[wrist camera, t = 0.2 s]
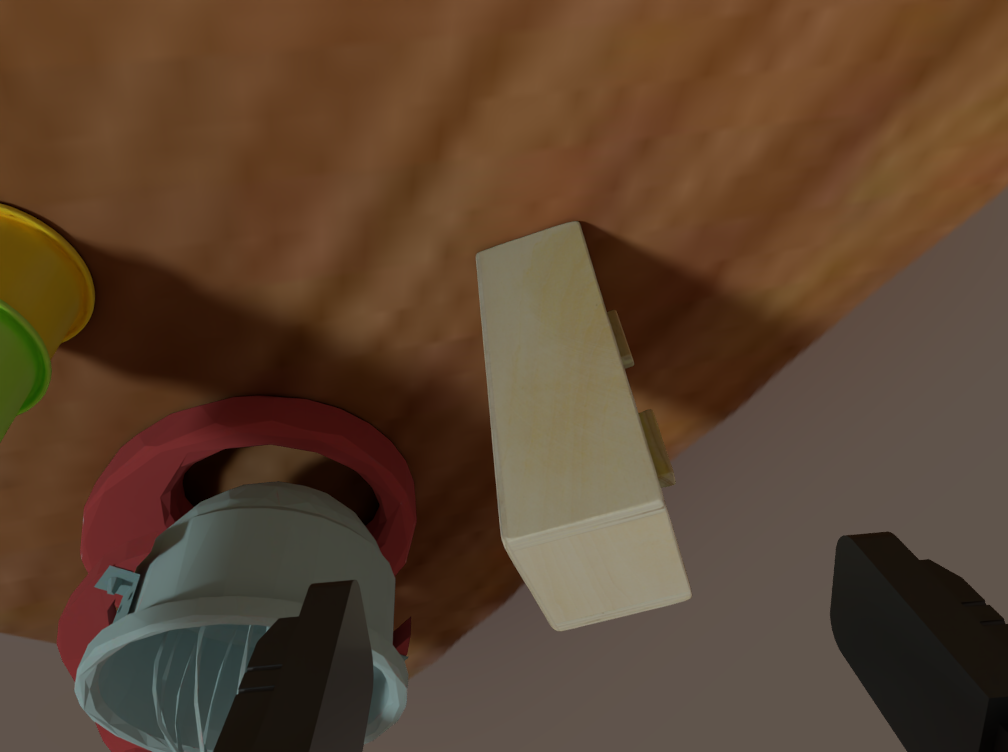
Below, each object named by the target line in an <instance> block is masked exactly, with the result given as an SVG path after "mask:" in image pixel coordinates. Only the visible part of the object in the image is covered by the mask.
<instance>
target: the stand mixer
mask: <svg viewBox="0 0 1008 752" xmlns="http://www.w3.org/2000/svg"><path fill="white" fill-rule="evenodd" d="M270 444H271V445H277V446H283V447H289V448H294V449H300V450H306V451H311V452H317V453H319V454H321V455H323V456H326V457H328V458H330V459H332V460H334V461H337V462H339V463H341V464H343V465H345V466H347V467H350V468H351V469H353V470H354V471H356V472H357V473H358V474H360V476H361V477H362V478H363V479H364V480H365V481H366V482H367V483H368V484H369V485H370V486H371V487H372V489H373V491H374V493H375V495H376V497H377V500H378V502H379V504H380V506H379V508H378V510H377V512H376V514H375V517H374V519H373V520H372V521H371V522H370V523H368V524H367V525H366V526H365V525H364V524H363V523H362V521H361V520H360V519H359V517H358V516H357V515H356V513H355V512H353V511H352V510H351V509H349V508H348V507H346V506H345V505H343V504H342V503H340V502H339V501H337V500H336V499H335V498H333V497H332V496H330V495H329V494H327V493H325V492H322V491H319V490H316V489H313V488H310V487H307V486H303V485H297V484H291V483H285V482H279V481H278V482H267V483H257V484H247V485H242V486H239V487H236V488H234V489H231V490H228V491H226V492H223V493H221V494H218V495H216V496H214V497H211V498H209V499H206V500H204V501H202V502H200V503H199V504H198V505H196V506H195V507H193V505H192V504H191V503H190V502H189V501H188V500H187V499H186V497H185V493H184V488H183V478H184V474H185V473H186V471H187V470H188V469H189V468H190V467H191V466H192V465H193V464H194V463H196V462H198V461H200V460H202V459H204V458H206V457H209V456H211V455H213V454H215V453H217V452H219V451H221V450H223V449H229V448H239V447H250V446H260V445H270ZM416 522H417V515H416V500H415V486H414V480H413V478H412V475H411V473H410V470H409V467H408V465H407V462H406V460H405V459H404V458H403V456H402V455H401V454H400V452H399V451H398V450H397V448H396V447H395V446H394V444H393V443H392V442H391V441H390V440H389V439H388V438H387V437H385V436H384V435H383V434H382V433H380V432H379V431H378V430H377V429H376V428H374V427H373V426H372V425H371V424H369V423H367V422H365V421H363V420H361V419H359V418H357V417H355V416H354V415H352V414H350V413H348V412H346V411H344V410H342V409H340V408H336V407H333V406H329V405H326V404H322V403H318V402H315V401H311V400H308V399H299V398H286V397H274V396H243V397H232V398H228V399H224V400H220V401H217V402H213V403H209V404H205V405H201V406H197V407H194V408H190V409H187V410H183V411H179V412H176V413H172V414H170V415H168V416H167V417H165V418H163V419H162V420H160V421H159V422H157V423H155V424H154V425H152V426H150V427H149V428H147V429H146V430H144V431H142V432H141V433H139V434H137V435H136V436H135V437H134V438H132V439H131V440H130V441H129V442H127V443H126V444H125V445H124V446H122V447H121V448H120V450H119V451H118V452H117V454H116V455H115V456H114V458H113V459H112V461H111V462H110V463H109V465H108V466H107V468H106V469H105V470H104V472H103V473H102V475H101V476H100V477H99V479H98V480H97V481H96V484H95V486H94V488H93V490H92V492H91V494H90V496H89V498H88V500H87V502H86V505H85V507H84V515H83V527H82V538H81V550H80V553H81V560H82V562H83V564H84V566H85V568H86V570H87V571H88V573H89V574H88V575H87V576H86V577H85V579H84V580H83V581H82V582H81V584H80V585H79V586H78V587H77V588H76V590H75V591H74V592H73V593H72V594H71V596H70V598H69V601H68V603H67V605H66V607H65V609H64V611H63V613H62V615H61V617H60V619H59V625H58V635H57V646H58V649H59V652H60V655H61V658H62V660H63V663H64V664H65V666H66V667H67V669H68V671H69V673H70V674H71V676H72V678H73V679H74V681H75V689H74V691H75V694H76V696H77V699H78V701H79V703H80V705H81V707H82V708H83V709H84V711H85V712H86V713H87V714H88V715H89V716H90V718H91V719H92V720H93V721H95V723H96V725H97V728H98V730H99V732H100V735H101V737H102V739H103V741H104V743H105V744H106V745H107V747H108V748H109V749H110V750H111V752H213V750H214V748H215V745H216V743H217V740H218V738H219V735H220V733H221V730H222V728H223V725H224V723H225V720H226V718H227V715H228V713H229V711H230V708H231V706H232V703H233V701H234V698H235V696H236V694H238V688H239V686H240V683H241V681H242V678H243V676H244V673H245V672H247V666H248V663H249V661H250V658H251V656H252V653H253V651H254V648H255V646H256V643H257V641H258V640H259V639H260V638H261V637H262V636H263V635H264V634H265V633H266V632H267V631H268V629H269V628H270V627H271V626H272V625H273V624H274V623H275V622H276V621H277V620H278V619H279V618H286V617H297V616H299V614H300V611H301V608H302V605H303V602H304V599H305V597H306V594H307V591H308V588H309V586H310V585H311V584H313V583H324V582H335V581H346V580H357V581H358V583H359V586H360V590H361V596H362V601H363V606H364V612H365V617H366V623H367V628H368V634H369V639H370V644H371V650H372V657H373V672H374V678H373V693H372V699H371V705H370V711H369V716H368V722H367V728H366V734H365V740H364V744H366V743H368V742H371V741H373V740H374V739H376V738H377V737H378V736H380V735H381V734H382V733H383V732H385V731H386V730H387V729H388V728H390V727H391V726H392V725H393V724H395V723H396V722H397V721H398V720H399V718H400V716H401V714H402V712H403V711H404V709H405V707H406V702H407V701H406V700H407V686H408V672H407V669H406V665H405V662H404V661H405V660H406V659H407V658H408V657H407V656H406V655H407V652H408V647H409V641H410V636H411V617H410V618H409V619H408V620H406V621H405V622H404V623H403V624H402V625H401V626H400V627H399V628H398V629H396V630H395V631H394V632H393V624H394V601H395V576H396V574H397V573H398V572H399V571H400V570H401V568H402V567H403V566H404V565H405V564H406V561H407V557H408V553H409V550H410V546H411V542H412V538H413V534H414V530H415V526H416ZM115 606H116V607H118V611H116V608H115Z"/></svg>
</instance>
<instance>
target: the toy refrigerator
mask: <svg viewBox="0 0 1008 752" xmlns="http://www.w3.org/2000/svg"><path fill="white" fill-rule="evenodd" d="M476 266H477V276H478V288H479V299H480V310H481V322H482V334H483V345H484V355H485V366H486V377H487V387H488V400H489V411H490V423H491V433H492V445H493V457H494V467H495V478H496V489H497V500H498V512H499V523H500V532H501V539H502V542H503V545H504V547H505V549H506V551H507V553H508V555H509V557H510V559H511V560H512V562H513V564H514V566H515V567H516V569H517V570H518V572H519V574H520V575H521V577H522V579H523V580H524V582H525V584H526V585H527V587H528V588H529V590H530V591H531V593H532V595H533V597H534V598H535V600H536V602H537V603H538V605H539V607H540V609H541V610H542V612H543V614H544V615H545V617H546V619H547V621H548V622H549V624H550V625H551V627H552V628H553V629H554V630H555V631H565V630H569V629H574V628H578V627H582V626H586V625H590V624H595V623H599V622H603V621H607V620H611V619H616V618H620V617H624V616H628V615H632V614H636V613H640V612H644V611H648V610H652V609H656V608H661V607H665V606H669V605H673V604H676V603H680V602H683V601H686V600H688V599H690V598H691V597H692V591H691V587H690V584H689V580H688V577H687V573H686V570H685V566H684V563H683V560H682V556H681V553H680V550H679V546H678V543H677V539H676V536H675V533H674V529H673V526H672V523H671V519H670V516H669V513H668V510H667V506H666V503H665V500H664V497H663V493H662V490H661V488H662V487H667V486H671V485H674V484H675V482H676V481H675V476H674V472H673V469H672V466H671V463H670V460H669V457H668V454H667V451H666V448H665V445H664V442H663V439H662V436H661V433H660V430H659V427H658V424H657V421H656V417H655V414H654V412H653V410H651V409H650V410H646V411H644V412H641V413H638V411H637V407H636V404H635V401H634V397H633V394H632V391H631V388H630V385H629V382H628V378H627V375H626V372H625V368H629V367H632V366H633V365H634V361H633V358H632V355H631V352H630V349H629V346H628V343H627V340H626V337H625V334H624V331H623V328H622V325H621V323H620V320H619V317H618V314H617V311H616V310H612V311H609V312H607V311H606V308H605V304H604V301H603V298H602V294H601V291H600V288H599V285H598V281H597V278H596V275H595V271H594V268H593V265H592V262H591V258H590V255H589V252H588V248H587V245H586V242H585V238H584V235H583V232H582V228H581V225H580V223H579V222H578V221H575V222H569V223H565V224H562V225H559V226H555V227H552V228H549V229H546V230H543V231H540V232H537V233H534V234H531V235H528V236H525V237H522V238H519V239H516V240H513V241H510V242H507V243H504V244H501V245H498V246H495V247H493V248H490V249H487V250H484V251H481V252H479V253H477V254H476Z"/></svg>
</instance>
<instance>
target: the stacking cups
mask: <svg viewBox="0 0 1008 752" xmlns="http://www.w3.org/2000/svg"><path fill="white" fill-rule="evenodd" d="M94 304H95V289H94V284H93V280H92V277H91V275H90V272H89V270H88V268H87V266H86V264H85V262H84V261H83V259H82V258H81V257H80V255H79V254H78V253H77V251H76V250H75V249H74V248H73V247H72V246H71V245H70V244H69V243H68V242H67V241H66V240H65V239H64V238H63V237H62V236H61V235H60V234H59V233H57V232H56V231H55V230H53V229H52V228H51V227H49V226H48V225H46V224H45V223H43V222H42V221H40V220H38V219H37V218H35V217H33V216H31V215H29V214H27V213H25V212H23V211H20V210H18V209H16V208H13V207H11V206H8V205H4V204H1V203H0V442H1V440H2V439H3V437H4V435H5V434H6V432H7V430H8V429H9V427H10V425H11V423H12V422H13V420H14V418H15V417H16V416H17V415H20V414H22V413H24V412H26V411H28V410H29V409H30V408H32V407H33V406H34V405H36V404H37V403H38V402H39V401H40V400H41V399H42V397H43V396H44V395H45V393H46V391H47V389H48V386H49V383H50V380H51V373H52V368H51V361H50V360H51V359H52V357H53V355H54V354H55V352H56V350H57V349H58V347H59V345H60V344H61V343H63V342H65V341H68V340H69V339H71V338H72V337H74V336H75V335H77V334H78V333H79V332H80V331H81V330H82V329H83V328H84V327H85V326H86V324H87V323H88V321H89V320H90V318H91V315H92V313H93V310H94Z"/></svg>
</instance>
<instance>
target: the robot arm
mask: <svg viewBox="0 0 1008 752" xmlns="http://www.w3.org/2000/svg"><path fill="white" fill-rule="evenodd" d="M830 618H831V625H832V631H833V634H834V638H835V641H836V643H837V645H838V647H839V649H840V651H841V653H842V654H843V656H844V657H845V659H846V660H847V662H848V663H849V665H850V666H851V668H852V669H853V671H854V672H855V674H856V675H857V676H858V678H859V680H860V681H861V683H862V684H863V686H864V687H865V689H866V690H867V692H868V693H869V695H870V696H871V698H872V699H873V701H874V702H875V704H876V705H877V707H878V708H879V710H880V711H881V713H882V714H883V716H884V717H885V719H886V720H887V722H888V723H889V725H890V726H891V728H892V729H893V731H894V732H895V734H896V735H897V737H898V738H899V740H900V741H901V743H902V744H903V746H904V747H905V749H906V750H907V752H1008V624H1005V622H1004V618H1003V617H1002V616H1000V615H999V614H998V613H997V612H996V611H995V610H994V609H993V608H992V607H991V606H990V605H986V604H985V600H984V599H983V598H982V597H981V596H980V595H979V594H978V593H977V592H976V591H975V590H974V589H973V588H972V587H971V586H970V585H969V584H968V583H967V582H966V581H965V580H964V579H963V578H961V577H960V576H958V575H956V574H954V573H952V572H950V571H949V570H947V569H945V568H944V567H942V566H940V565H938V564H936V563H934V562H933V561H931V560H929V559H927V560H919V559H918V558H917V557H916V556H915V555H914V554H913V553H912V552H911V551H910V550H908V548H907V547H906V546H905V545H904V544H903V543H902V542H901V541H900V540H899V539H898V538H897V537H896V536H895V535H894V534H892V533H891V532H879V533H868V534H857V535H846V536H842V537H840V539H839V540H838V543H837V546H836V555H835V566H834V576H833V587H832V598H831V608H830ZM373 678H374V672H373V657H372V650H371V644H370V639H369V634H368V628H367V623H366V617H365V612H364V606H363V601H362V596H361V590H360V586H359V583H358V581H357V580H346V581H335V582H324V583H313V584H311V585H310V586H309V588H308V591H307V594H306V597H305V599H304V602H303V605H302V608H301V611H300V614H299V616H297V617H286V618H279V619H278V620H277V621H276V622H275V623H274V624H273V625H272V626H271V627H270V628H269V629H268V631H267V632H266V633H265V634H264V635H263V636H262V637H261V638H260V639H259V640H258V641H257V643H256V646H255V648H254V651H253V653H252V656H251V658H250V661H249V663H248V666H247V672H245V673H244V676H243V678H242V681H241V683H240V686H239V688H238V694H236V696H235V698H234V701H233V703H232V706H231V708H230V711H229V713H228V715H227V718H226V720H225V723H224V725H223V728H222V730H221V733H220V735H219V738H218V740H217V743H216V745H215V748H214V750H213V752H362V751H363V745H364V740H365V734H366V728H367V722H368V716H369V711H370V705H371V699H372V693H373Z"/></svg>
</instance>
